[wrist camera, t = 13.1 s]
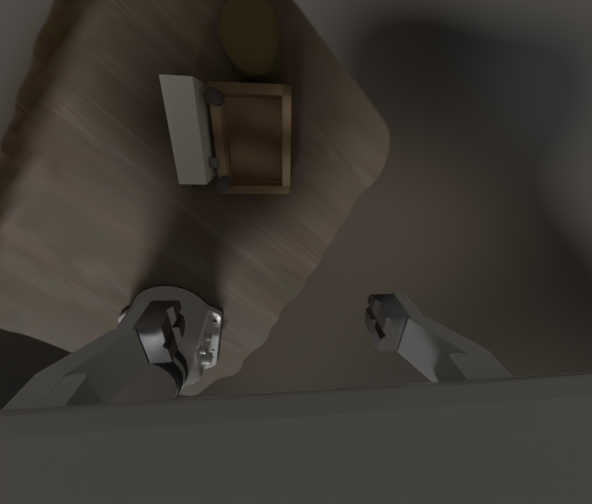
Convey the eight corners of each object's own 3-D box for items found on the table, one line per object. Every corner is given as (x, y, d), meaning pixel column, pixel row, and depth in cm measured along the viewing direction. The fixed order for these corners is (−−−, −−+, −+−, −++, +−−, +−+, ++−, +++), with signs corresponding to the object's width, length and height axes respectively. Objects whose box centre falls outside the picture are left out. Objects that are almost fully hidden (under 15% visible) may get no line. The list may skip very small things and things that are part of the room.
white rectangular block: (188, 87, 30) (158, 74, 22) (221, 88, 31) (203, 76, 23) (200, 170, 35) (179, 184, 27) (228, 171, 35) (215, 184, 27)
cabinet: (287, 184, 37) (291, 198, 30) (188, 183, 36) (169, 197, 29) (288, 90, 31) (292, 81, 25) (171, 85, 30) (142, 75, 23)
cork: (223, 33, 28) (197, -14, 18) (274, 20, 28) (274, -35, 18) (240, 93, 31) (225, 80, 21) (286, 82, 31) (292, 63, 21)
